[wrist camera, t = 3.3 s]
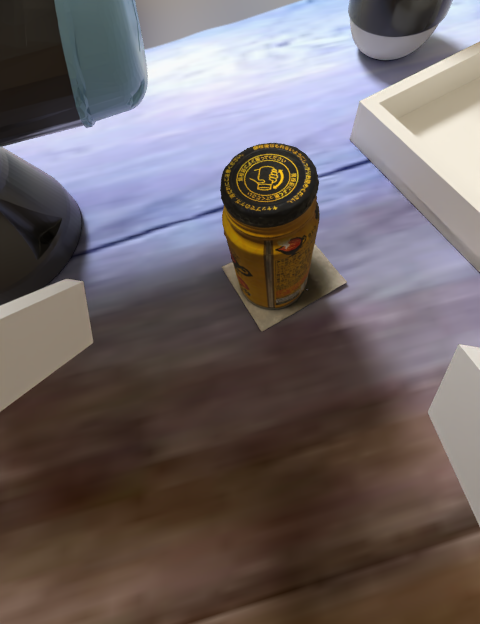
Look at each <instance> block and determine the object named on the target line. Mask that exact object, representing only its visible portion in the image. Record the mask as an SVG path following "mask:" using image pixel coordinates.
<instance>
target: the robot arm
mask: <svg viewBox="0 0 480 624" xmlns="http://www.w3.org/2000/svg"><path fill="white" fill-rule="evenodd" d="M147 77H148V75H147V65H146V57H145V51H144V45H143V40H142V34H141V29H140V23H139V19H138V13H137V9H136V3H135V0H0V305H1V306H0V412H1V411H2V410H3V409H5V408H6V407H7V406H9V405H10V404H11V403H13V402H14V401H15V400H17V399H18V398H20V397H21V396H22V395H24V394H25V393H26V392H28V391H29V390H30V389H32V388H33V387H34V386H36V385H37V384H38V383H40V382H41V381H42V380H44V379H45V378H46V377H48V376H49V375H50V374H52V373H53V372H54V371H56V370H57V369H59V368H60V367H61V366H63V365H64V364H65V363H67V362H68V361H69V360H71V359H72V358H73V357H75V356H76V355H77V354H79V353H80V352H81V351H83V350H84V349H85V348H87V347H88V346H89V345H91V344H92V343H93V337H92V331H91V325H90V319H89V313H88V307H87V301H86V295H85V289H84V283H83V281H77V280H71V279H64V280H62V281H59V282H57V283H54V284H52V285H49V286H47V287H45V288H43V287H44V286H45V285H47V284H48V283H49V282H50V281H51V280H52V279H54V278H55V277H56V276H57V275H58V274H59V272H60V271H61V270H62V269H63V268H64V267H65V265H66V264H67V262H68V261H69V259H70V258H71V256H72V254H73V253H74V251H75V248H76V246H77V244H78V241H79V237H80V233H81V214H80V210H79V207H78V205H77V203H76V201H75V200H74V198H73V197H72V196H71V195H70V194H69V193H68V192H67V191H66V190H65V189H64V187H63V186H62V185H61V184H60V183H59V182H58V181H57V180H55V179H54V178H53V177H52V176H50V175H48V174H47V173H45V172H43V171H42V170H40V169H38V168H37V167H35V166H33V165H32V164H30V163H28V162H27V161H25V160H23V159H21V158H20V157H18V156H16V155H15V154H13V153H11V152H10V151H8V150H6V149H5V148H3V147H2V146H6V145H10V144H14V143H17V142H21V141H25V140H29V139H33V138H37V137H41V136H45V135H48V134H52V133H56V132H60V131H64V130H68V129H72V128H75V127H79V126H83V125H84V126H85V127H86V128H88V127H92V126H93V125H94V124H95V122H96V121H98V120H101V119H104V118H107V117H110V116H113V115H116V114H119V113H122V112H126V111H129V110H131V109H133V108H135V107H136V106H138V105H139V104H140V102H141V101H142V99H143V97H144V95H145V93H146V89H147ZM41 288H42V289H41ZM428 414H429V416H430V418H431V421H432V423H433V425H434V427H435V429H436V432H437V434H438V436H439V438H440V440H441V443H442V445H443V447H444V449H445V451H446V454H447V456H448V458H449V460H450V462H451V465H452V467H453V469H454V471H455V474H456V476H457V478H458V480H459V482H460V485H461V487H462V489H463V491H464V493H465V496H466V498H467V500H468V502H469V504H470V507H471V509H472V511H473V513H474V515H475V518H476V520H477V522H478V524H479V526H480V348H478V347H472V346H466V345H460V344H459V345H458V347H457V349H456V351H455V353H454V356H453V358H452V360H451V362H450V364H449V367H448V369H447V371H446V373H445V375H444V378H443V380H442V382H441V384H440V386H439V389H438V391H437V393H436V395H435V397H434V400H433V402H432V404H431V406H430V408H429V411H428Z"/></svg>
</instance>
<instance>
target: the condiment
mask: <svg viewBox="0 0 480 624" xmlns="http://www.w3.org/2000/svg"><path fill="white" fill-rule="evenodd" d="M318 185H319V180H318V174H317V171H316V167H315V166H314V164H313V162H312V161H311V160H310V159H309V158H308V156H307V155H306V154H305V153H304V152H302V151H300V150H299V149H298V148H296V147H293V146H289V145H285V144H278V143H267V144H259V145H256V146H253V147H250V148H247V149H246V150H244V151H243V152H241V153H239V154H238V155H237V156H235V157H234V158H233V159H232V160H231V162H230V163H229V164H228V165H227V166H226V167H225V169H224V171H223V174H222V178H221V189H220V191H221V199H222V201H223V204H224V209H223V214H222V223H223V227H224V235H225V236H226V239H227V243H228V246H229V250H230V253H231V259H232V261H233V262H231V263H229V264H227V265H225V266H222V269H223V270H224V272H225V274H226V275H227V277H228V278H229V280H230V282H231V283H232V285H233V287H234V288H235V290H236V292H237V293H238V295H239V296H240V298H241V300H242V301H243V303H244V304H245V306H246V308H247V309H248V311H249V312H250V314H251V316H252V317H253V319H254V320H255V322H256V324H257V325H258V327H259V328H260V330H261V332H262V331H264V330H265V329H267V328H269V327H271V326H273V325H274V324H276V323H278V322H280V321H281V320H283V319H285V318H287V317H288V316H290V315H292V314H294V313H295V312H297V311H299V310H300V309H302V308H304V307H306V306H307V305H309V304H310V303H312V302H313V301H315V300H317V299H319V298H321V297H323V296H324V295H326V294H328V293H330V292H331V291H333V290H334V289H336V288H337V287H339V286H341V285H343V284H345V283H346V280H345V279H344V278H343V277H342V276H341V275H340V274H339V273H338V271H337V270H336V269H335V268H334V267H333V265H332V264H331V263H330V262H329V261H328V259H327V258H326V257H325V256H324V254H323V253H322V252H321V251H320V249H318V248H317V246H316V244H315V239H316V234H317V229H318V224H319V206H318V203H317V201H316V200H317V196H316V194H317V191H318ZM306 289H308V290H306Z"/></svg>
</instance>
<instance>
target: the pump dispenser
mask: <svg viewBox="0 0 480 624" xmlns="http://www.w3.org/2000/svg"><path fill="white" fill-rule="evenodd" d="M452 1H453V0H350V1H349V7H348V13H349V17H350V26H351V33H352V37H353V40H354V42H355V44H356V45H357V47H358V48H359V49H360V51H361V52H363V53H364V54H365V55H367V56H369V57H371V58H374V59H379V60H393V59H398V58H401V57H404V56H406V55H408V54H410V53H412V52H413V51H415V50H416V49H418V48H419V47H420V46H421V45H422V44H423V43H424V42H425V41H426V40H427V39H428V38H429V37H430V36H431V34H432V33H433V32H434V30H435V29H436V27H437V26H438V24H439V23H440V22H441V21H442V20H443V19H444V18H445V16H446V15H447V13H448V11H449V8H450V6H451V4H452Z"/></svg>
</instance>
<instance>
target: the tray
mask: <svg viewBox="0 0 480 624" xmlns="http://www.w3.org/2000/svg"><path fill="white" fill-rule="evenodd" d="M350 141H351V142H352V143H353V144H354V145H355V146H356V147H357V148H358V149H359V150H360V151H361V152H362V153H363V154H364V155H365V156H366V157H367V158H368V159H369V160H370V161H371V162H372V163H373V164H374V165H375V166H376V167H377V168H378V169H379V170H380V171H381V172H382V173H383V174H384V175H385V176H386V177H387V178H388V179H389V180H390V181H391V182H392V184H393V185H394V186H395V187H396V188H397V189H398V190H399V191H400V192H401V193H402V194H403V195H404V196H405V197H406V198H407V199H408V200H409V201H410V202H411V203H412V204H413V205H414V206H415V207H416V208H417V209H418V210H419V211H420V212H421V213H422V214H423V215H424V216H425V217H426V218H427V219H428V220H429V221H430V222H431V223H432V224H433V225H434V226H435V227H436V228H437V230H438V231H439V232H440V233H441V234H442V235H443V236H444V237H445V238H446V239H447V240H448V241H449V242H450V243H451V244H452V245H453V246H454V247H455V248H456V249H457V250H458V251H459V252H460V253H461V254H462V255H463V256H464V257H465V258H466V259H467V260H468V261H469V262H470V263H471V264H472V265H473V266H474V267H475V268H476V269H477V270H478V271H479V272H480V42H478V43H476V44H474V45H472V46H470V47H468V48H466V49H464V50H462V51H460V52H458V53H456V54H454V55H452V56H450V57H448V58H446V59H444V60H442V61H440V62H438V63H436V64H434V65H432V66H430V67H428V68H426V69H424V70H422V71H420V72H418V73H416V74H414V75H412V76H410V77H408V78H405V79H403V80H401V81H399V82H397V83H395V84H393V85H391V86H389V87H387V88H385V89H383V90H381V91H379V92H377V93H375V94H373V95H371V96H369V97H367V98H365V99H363V100H361V101H359V105H358V109H357V113H356V117H355V121H354V125H353V129H352V133H351V137H350Z"/></svg>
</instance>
